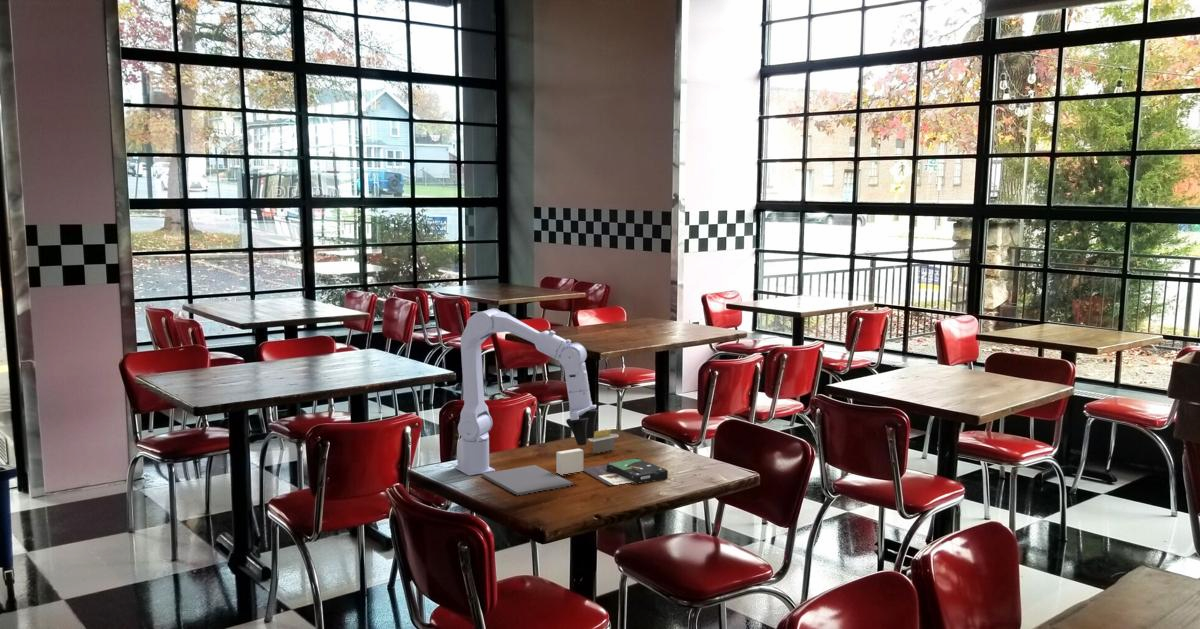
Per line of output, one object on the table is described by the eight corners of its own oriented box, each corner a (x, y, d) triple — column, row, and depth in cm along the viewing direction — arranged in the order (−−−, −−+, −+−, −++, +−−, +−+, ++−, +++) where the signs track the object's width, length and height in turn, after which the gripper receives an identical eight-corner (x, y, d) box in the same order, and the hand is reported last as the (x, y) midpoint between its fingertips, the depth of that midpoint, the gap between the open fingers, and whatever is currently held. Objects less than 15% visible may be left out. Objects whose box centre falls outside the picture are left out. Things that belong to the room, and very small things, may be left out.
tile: (556, 473, 260) (556, 451, 259) (578, 469, 264) (578, 448, 263) (560, 475, 258) (560, 453, 257) (583, 472, 262) (583, 450, 261)
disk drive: (668, 480, 256) (636, 466, 268) (668, 470, 256) (636, 456, 268) (636, 486, 250) (605, 472, 263) (636, 475, 250) (605, 462, 263)
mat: (482, 476, 257) (482, 473, 257) (535, 467, 265) (535, 464, 265) (517, 495, 240) (517, 492, 240) (573, 485, 249) (573, 482, 249)
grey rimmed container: (565, 453, 282) (565, 431, 281) (612, 444, 293) (612, 423, 293) (590, 462, 273) (590, 439, 272) (638, 452, 284) (638, 430, 283)
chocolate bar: (608, 464, 268) (640, 480, 252) (608, 467, 268) (640, 484, 252) (578, 468, 264) (609, 485, 248) (578, 471, 264) (609, 488, 248)
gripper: (585, 393, 243) (593, 446, 244) (600, 383, 257) (607, 433, 258) (559, 396, 245) (567, 449, 246) (574, 386, 259) (582, 436, 260)
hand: (586, 441), depth 252 cm, fingers open, 7 cm apart
